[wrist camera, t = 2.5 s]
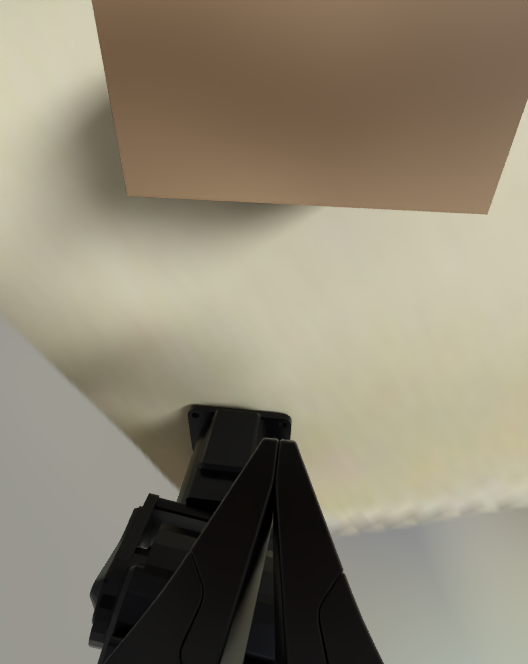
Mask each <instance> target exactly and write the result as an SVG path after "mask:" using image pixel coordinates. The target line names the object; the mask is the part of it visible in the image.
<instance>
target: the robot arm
mask: <svg viewBox="0 0 528 664" xmlns="http://www.w3.org/2000/svg"><path fill="white" fill-rule="evenodd" d="M196 413H198V414H196ZM188 420H189V427H190V434H191V441H192V448H193V454H192V457H191V460H190V463H189V466H188V469H187V472H186V475H185V478H184V481H183V484H182V487H181V490H180V493H179V496H178V499H177V502H174V501H170V500H166V499H163V498H159V495H155V494H151V493H149V495H148V497H147V499H146V501H145V503H144V505H143V507H141V506H140V507H139V508H135V509H134V510H133V513H132V515H131V517H130V520H129V523H128V525H127V527H126V529H125V531H124V534H123V536H122V538H121V540H120V542H119V543H118V545H117V547H116V548H115V550H114V551H113V553H112V555H111V556H110V558H109V559H108V561H107V563H106V564H105V566H104V567H103V569H102V571H101V572H100V574H99V575H98V577H97V579H96V580H95V582H94V584H93V586H92V589H91V592H90V598H91V601H92V604H93V607H94V614H93V619H92V624H93V626H92V629H91V633H90V638H89V646H90V647H93V648H97V649H102V651H101V654H100V658H99V661H98V664H384V663H383V661H382V659H381V657H380V655H379V653H378V651H377V649H376V647H375V644H374V642H373V640H372V638H371V636H370V634H369V631H368V630H367V627H366V625H365V623H364V621H363V619H362V616H361V614H360V611H359V609H358V606H357V604H356V601H355V599H354V596H353V594H352V591H351V588H350V586H349V583H348V580H347V578H346V575H345V574H344V573H343V568H342V565H341V562H340V559H339V557H338V554H337V552H336V549H335V546H334V543H333V541H332V538H331V535H330V532H329V530H328V527H327V524H326V522H325V519H324V516H323V514H322V511H321V508H320V505H319V503H318V500H317V497H316V495H315V492H314V489H313V487H312V484H311V481H310V479H309V476H308V473H307V470H306V468H305V465H304V462H303V460H302V457H301V454H300V452H299V449H298V446H297V444H296V442H295V441H293V440H290V435H291V423H292V420H291V417H290V416H288V415H286V414H278V413H268V412H258V411H248V410H238V409H228V408H218V407H208V406H198V405H194V406H191V407H190V409H189V412H188ZM283 422H286V423H283Z"/></svg>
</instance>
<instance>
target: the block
mask: <svg viewBox="0 0 528 664" xmlns="http://www.w3.org/2000/svg"><path fill="white" fill-rule="evenodd" d="M92 5H93V10H94V16H95V21H96V27H97V32H98V38H99V43H100V49H101V54H102V60H103V65H104V71H105V76H106V82H107V87H108V93H109V98H110V104H111V109H112V115H113V120H114V126H115V131H116V137H117V142H118V148H119V153H120V159H121V164H122V170H123V175H124V181H125V186H126V192H127V196H136V197H156V198H176V199H195V200H215V201H234V202H254V203H274V204H293V205H313V206H332V207H352V208H372V209H391V210H411V211H430V212H450V213H470V214H488V211H489V208H490V205H491V202H492V199H493V196H494V194H495V191H496V188H497V185H498V182H499V179H500V176H501V174H502V171H503V168H504V165H505V162H506V159H507V156H508V153H509V151H510V148H511V145H512V142H513V139H514V136H515V133H516V131H517V128H518V125H519V122H520V119H521V116H522V113H523V111H524V108H525V105H526V102H527V99H528V0H92Z"/></svg>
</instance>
